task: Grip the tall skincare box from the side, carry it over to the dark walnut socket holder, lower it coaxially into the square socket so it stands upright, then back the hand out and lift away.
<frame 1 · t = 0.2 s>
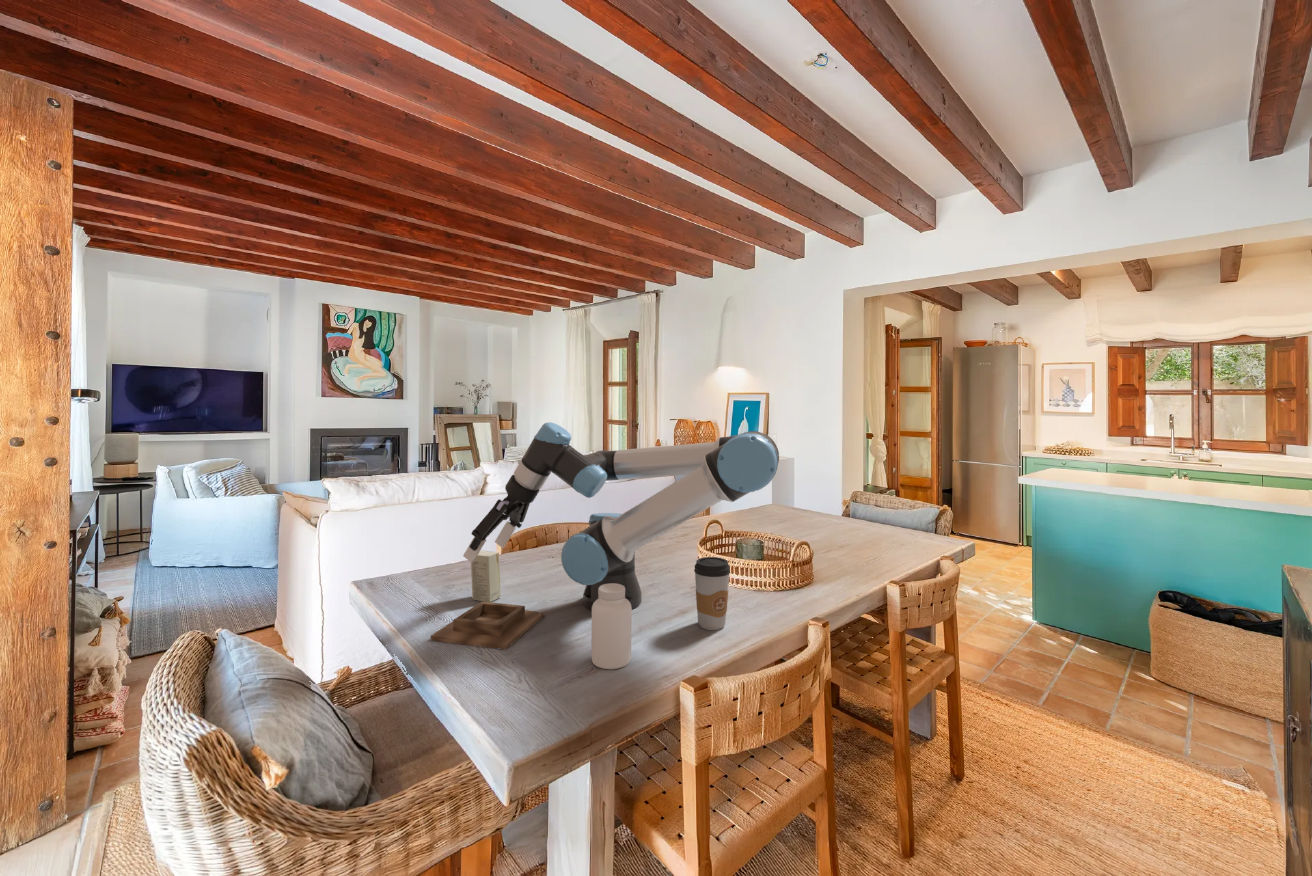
hand: (484, 551, 131), 15 cm above the table, tool tilted 35°, fingers open, 13 cm apart
pill bottle: (611, 661, 106), on the table
socket holder: (490, 627, 122), on the table
skincare box: (486, 599, 140), on the table
coffee cup: (711, 625, 123), on the table
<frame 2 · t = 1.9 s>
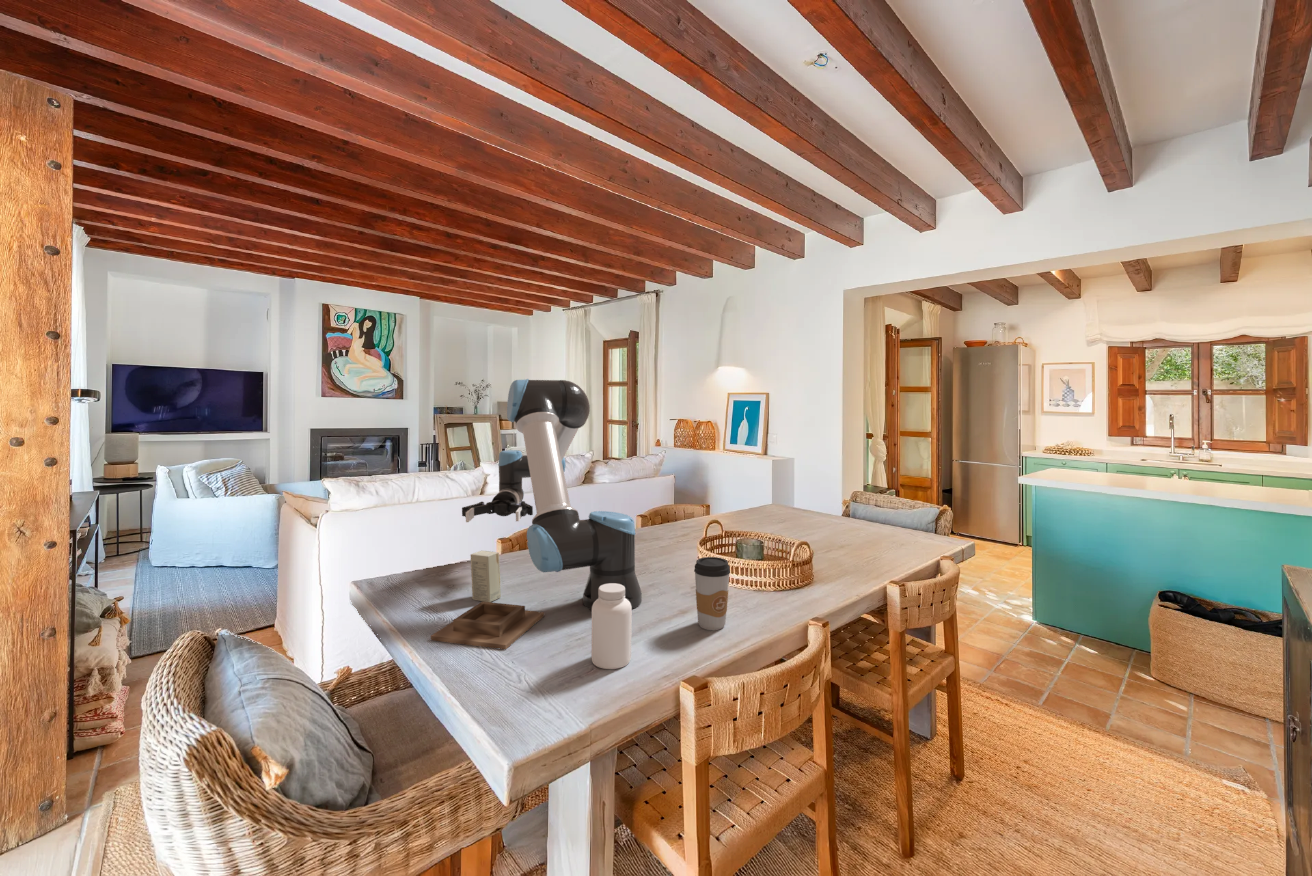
hand: (492, 517, 148), 20 cm above the table, tool horizontal, fingers open, 13 cm apart
nothing on the table moved.
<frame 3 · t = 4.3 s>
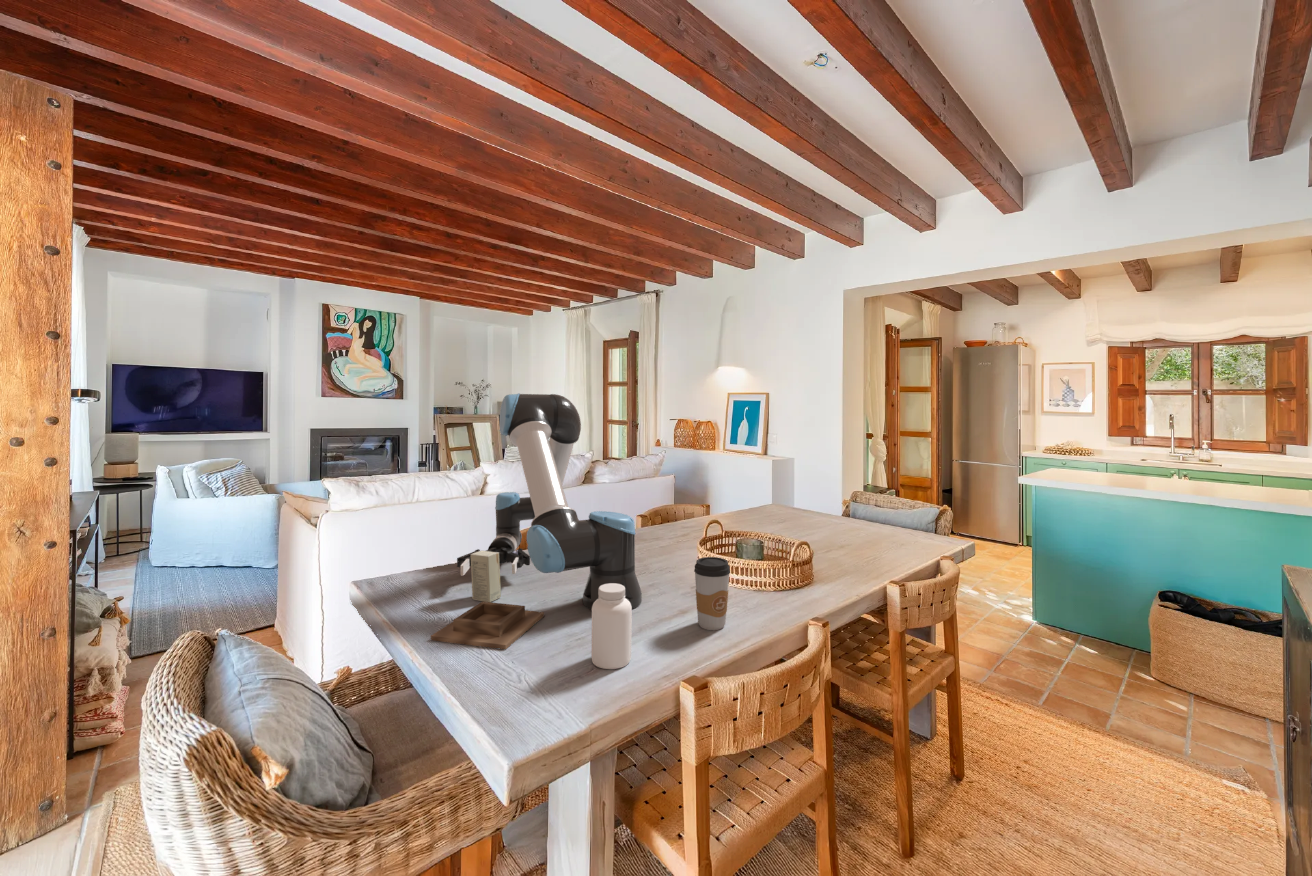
hand: (487, 569, 144), 6 cm above the table, tool horizontal, fingers open, 13 cm apart
nothing on the table moved.
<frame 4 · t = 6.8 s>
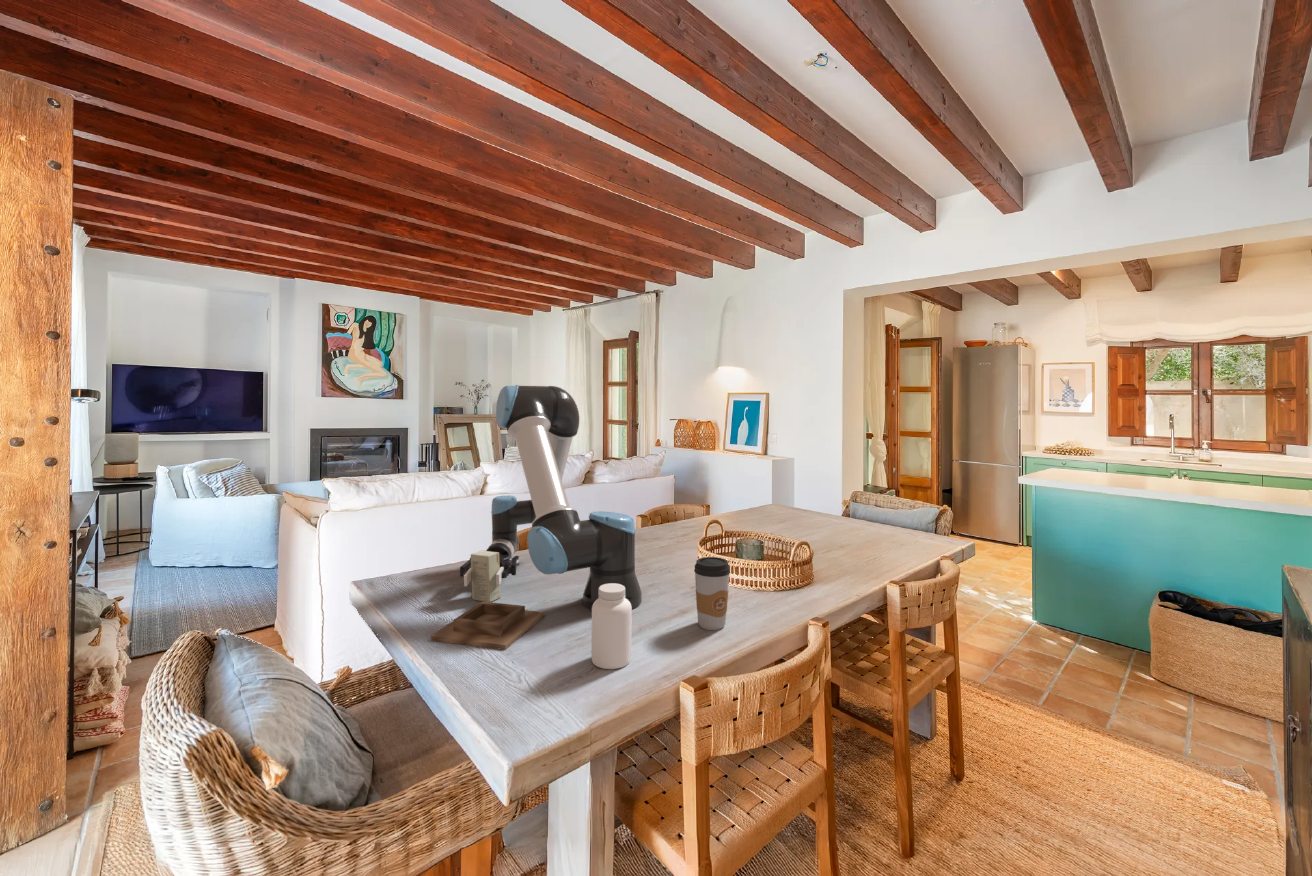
hand: (481, 580, 134), 7 cm above the table, tool horizontal, fingers closed on skincare box, 7 cm apart
skincare box: (486, 599, 140), on the table, touching gripper
everything else where it was.
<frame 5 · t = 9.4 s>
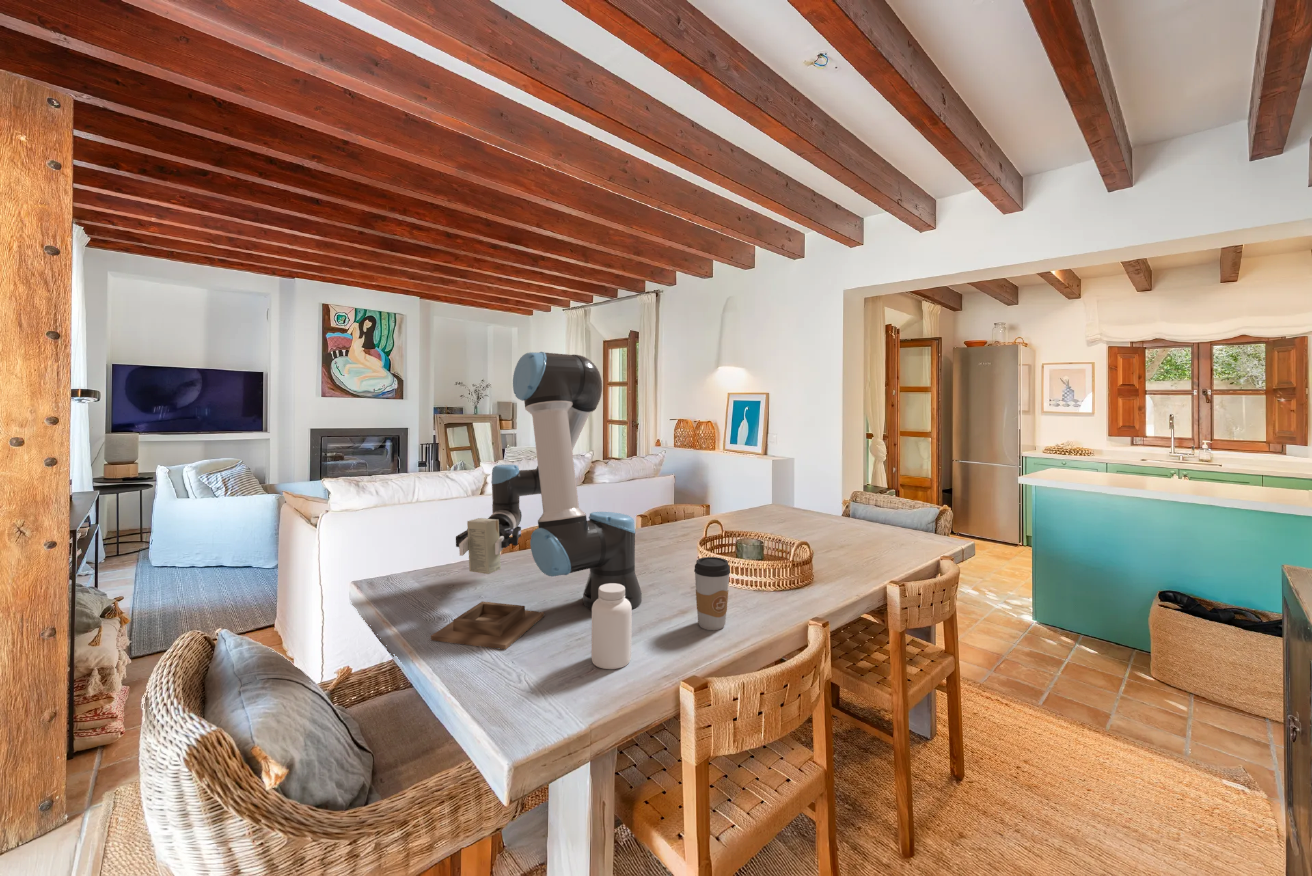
hand: (479, 549, 121), 18 cm above the table, tool horizontal, fingers closed on skincare box, 7 cm apart
skincare box: (484, 571, 126), point 11 cm above the table, touching gripper
everything else where it was.
when the fingers open (9 cm above the table, at t = 12.3 s): skincare box drops 1 cm, resting on socket holder.
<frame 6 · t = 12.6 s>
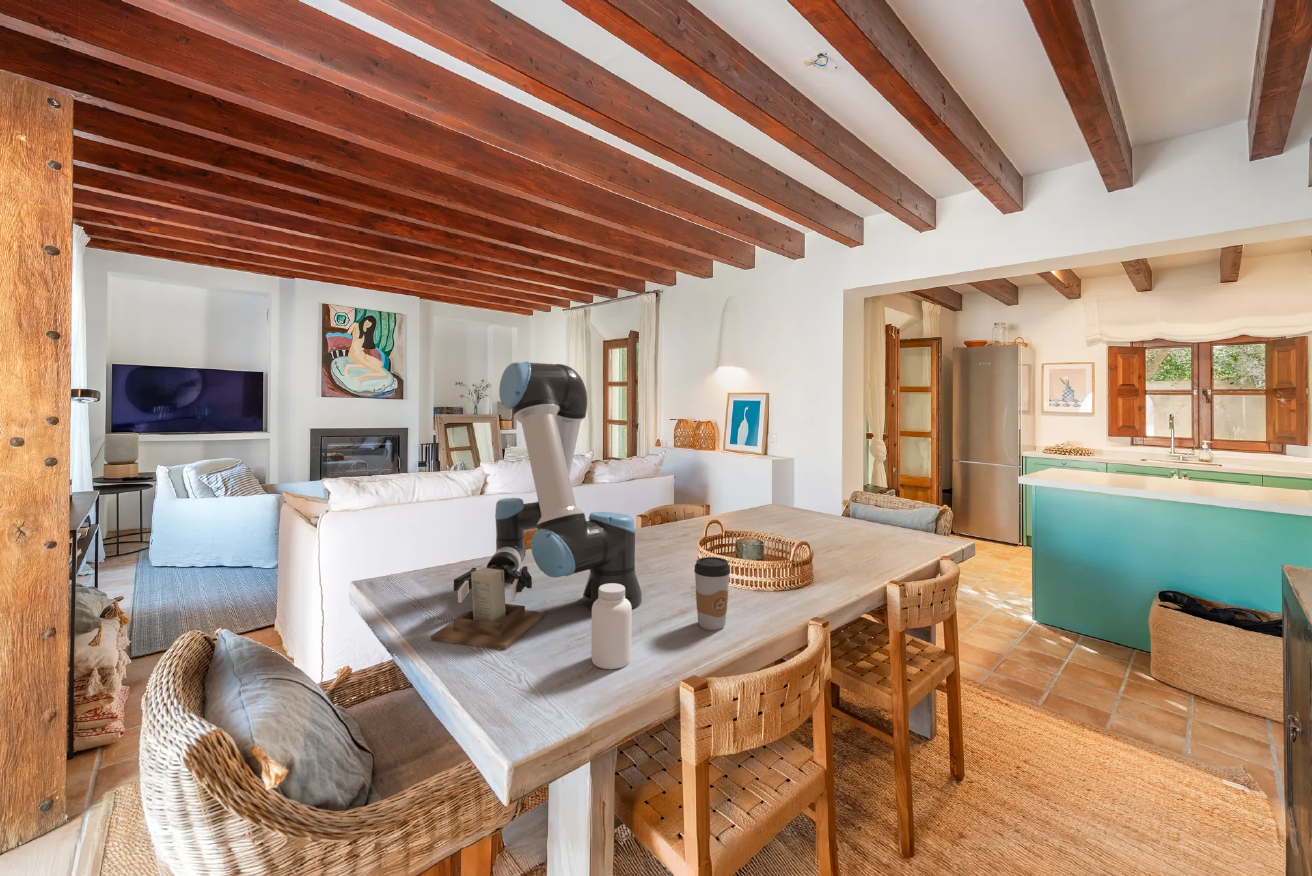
hand: (485, 595, 117), 9 cm above the table, tool horizontal, fingers open, 10 cm apart
skincare box: (489, 624, 122), point 1 cm above the table, touching socket holder
everything else where it was.
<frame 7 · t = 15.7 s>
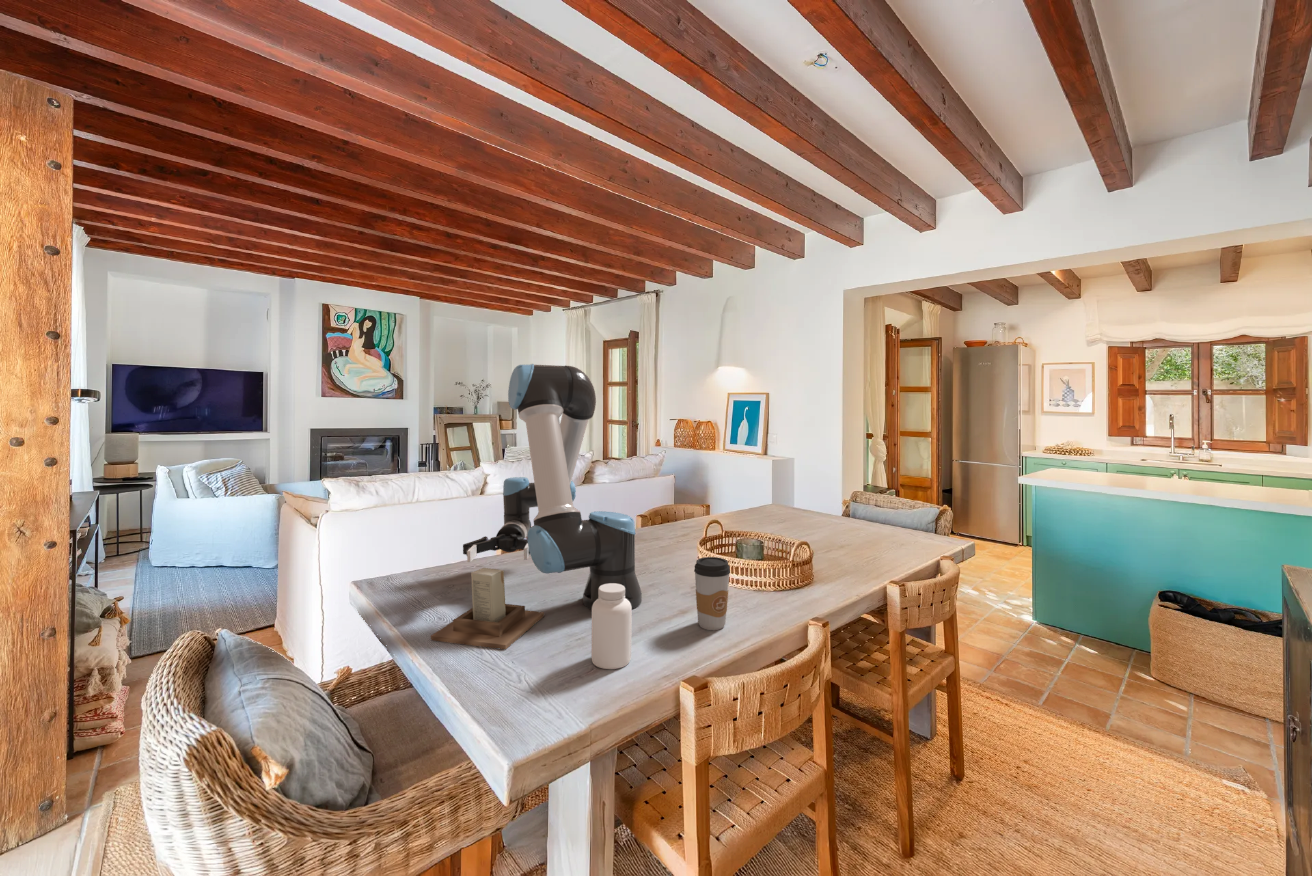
hand: (497, 555, 131), 14 cm above the table, tool horizontal, fingers open, 13 cm apart
nothing on the table moved.
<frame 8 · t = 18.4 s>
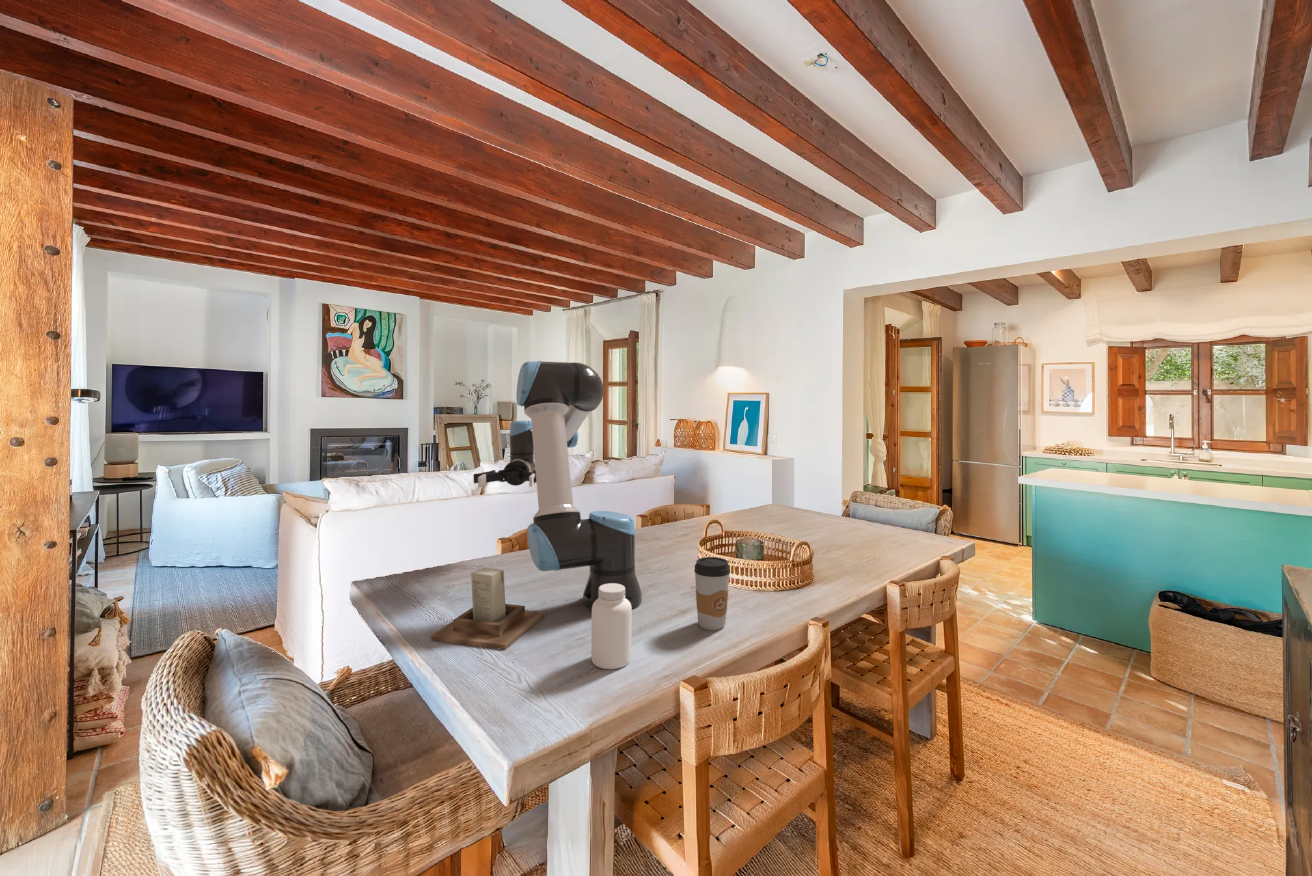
hand: (505, 482, 144), 30 cm above the table, tool horizontal, fingers open, 13 cm apart
nothing on the table moved.
at the end: skincare box 0.3 cm off-centre on the socket holder, point 0.8 cm above the socket holder's base; skincare box tilted 0°; the gripper is holding nothing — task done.
